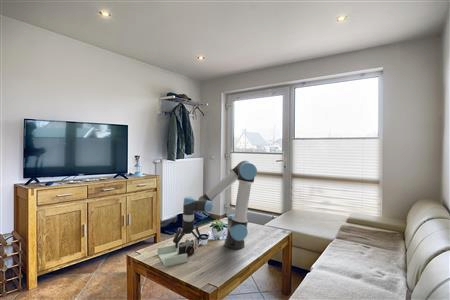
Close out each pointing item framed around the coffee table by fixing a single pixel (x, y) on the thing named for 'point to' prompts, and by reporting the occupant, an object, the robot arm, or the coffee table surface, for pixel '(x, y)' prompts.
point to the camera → (186, 247)
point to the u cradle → (171, 256)
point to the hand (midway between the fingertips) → (187, 250)
